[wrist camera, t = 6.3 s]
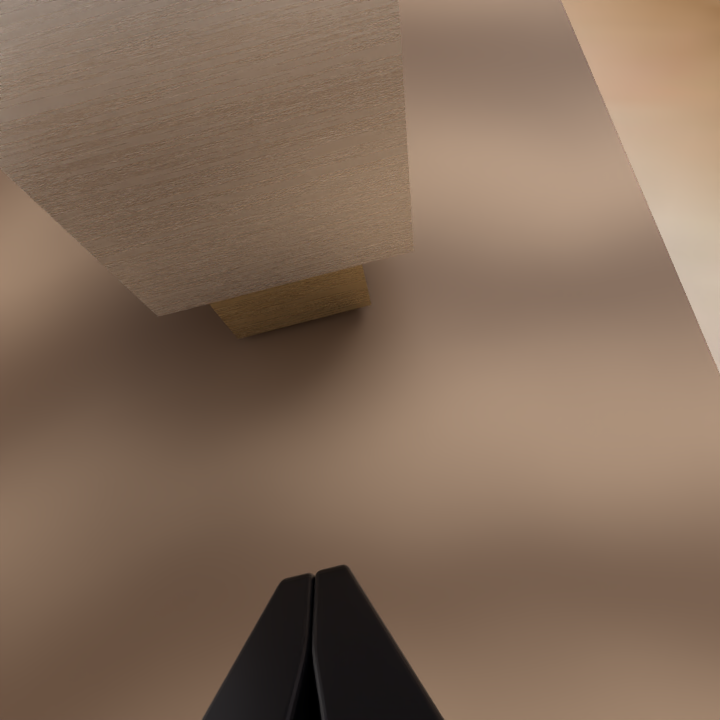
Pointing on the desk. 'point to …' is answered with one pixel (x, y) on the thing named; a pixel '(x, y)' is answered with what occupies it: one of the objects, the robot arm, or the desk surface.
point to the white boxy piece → (215, 146)
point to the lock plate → (384, 430)
